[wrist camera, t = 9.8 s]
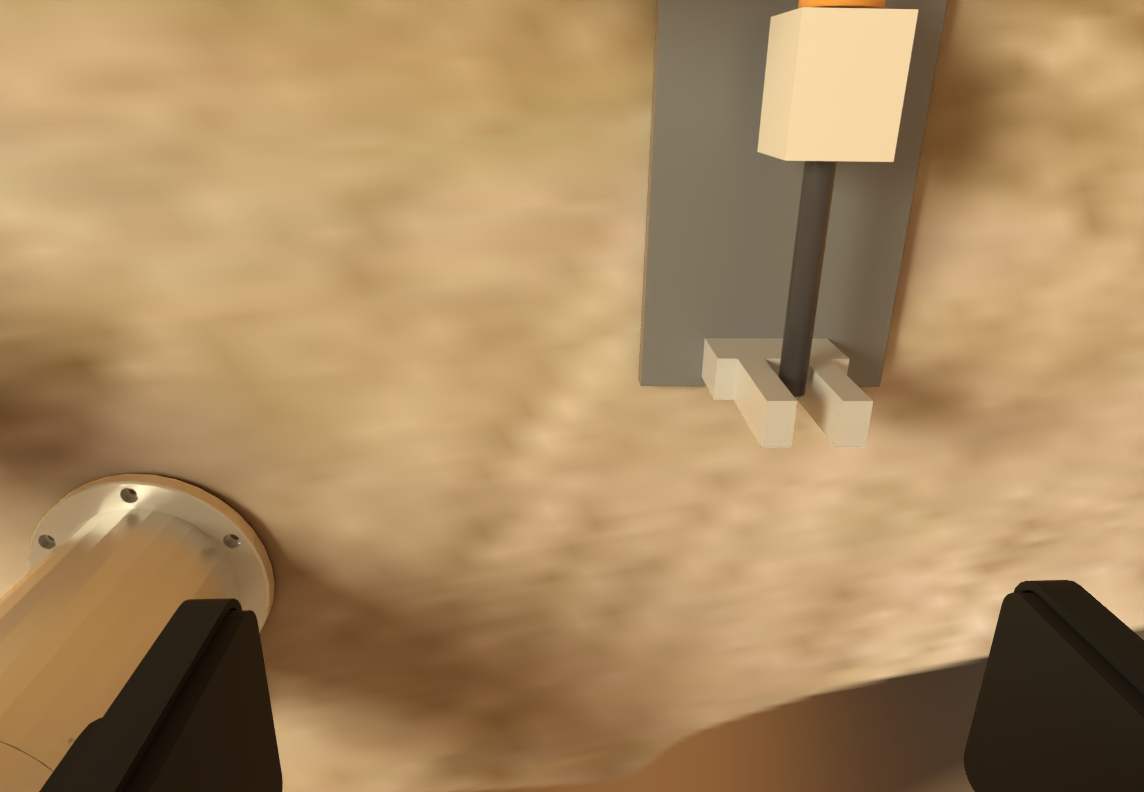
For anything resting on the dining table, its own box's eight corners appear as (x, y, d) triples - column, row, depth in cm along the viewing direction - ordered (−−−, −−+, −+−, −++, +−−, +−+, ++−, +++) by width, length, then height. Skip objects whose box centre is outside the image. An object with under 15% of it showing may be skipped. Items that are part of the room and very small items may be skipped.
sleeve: (852, 152, 32) (893, 161, 28) (757, 151, 32) (785, 160, 28) (872, 18, 30) (918, 9, 26) (770, 17, 30) (802, 7, 26)
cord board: (871, 379, 39) (958, 458, 31) (638, 378, 39) (663, 458, 31) (968, -187, 30) (1127, -290, 22) (666, -196, 30) (712, -303, 22)
